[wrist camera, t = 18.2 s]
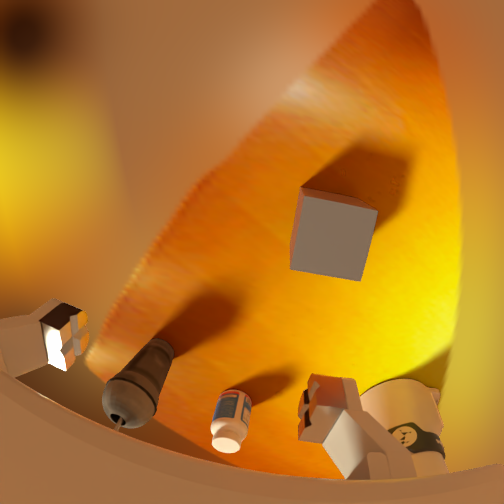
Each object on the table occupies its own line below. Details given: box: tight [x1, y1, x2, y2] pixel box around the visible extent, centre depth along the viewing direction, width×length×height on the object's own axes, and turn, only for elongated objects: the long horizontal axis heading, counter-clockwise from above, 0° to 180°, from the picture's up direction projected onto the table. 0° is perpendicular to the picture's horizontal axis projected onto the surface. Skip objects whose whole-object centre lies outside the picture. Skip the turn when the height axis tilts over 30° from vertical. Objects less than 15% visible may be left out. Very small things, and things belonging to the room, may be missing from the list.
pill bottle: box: [211, 390, 252, 453], centre depth 41 cm, size 6×5×10 cm
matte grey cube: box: [290, 187, 378, 281], centre depth 32 cm, size 7×7×9 cm
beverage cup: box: [102, 338, 174, 432], centre depth 35 cm, size 7×7×20 cm
